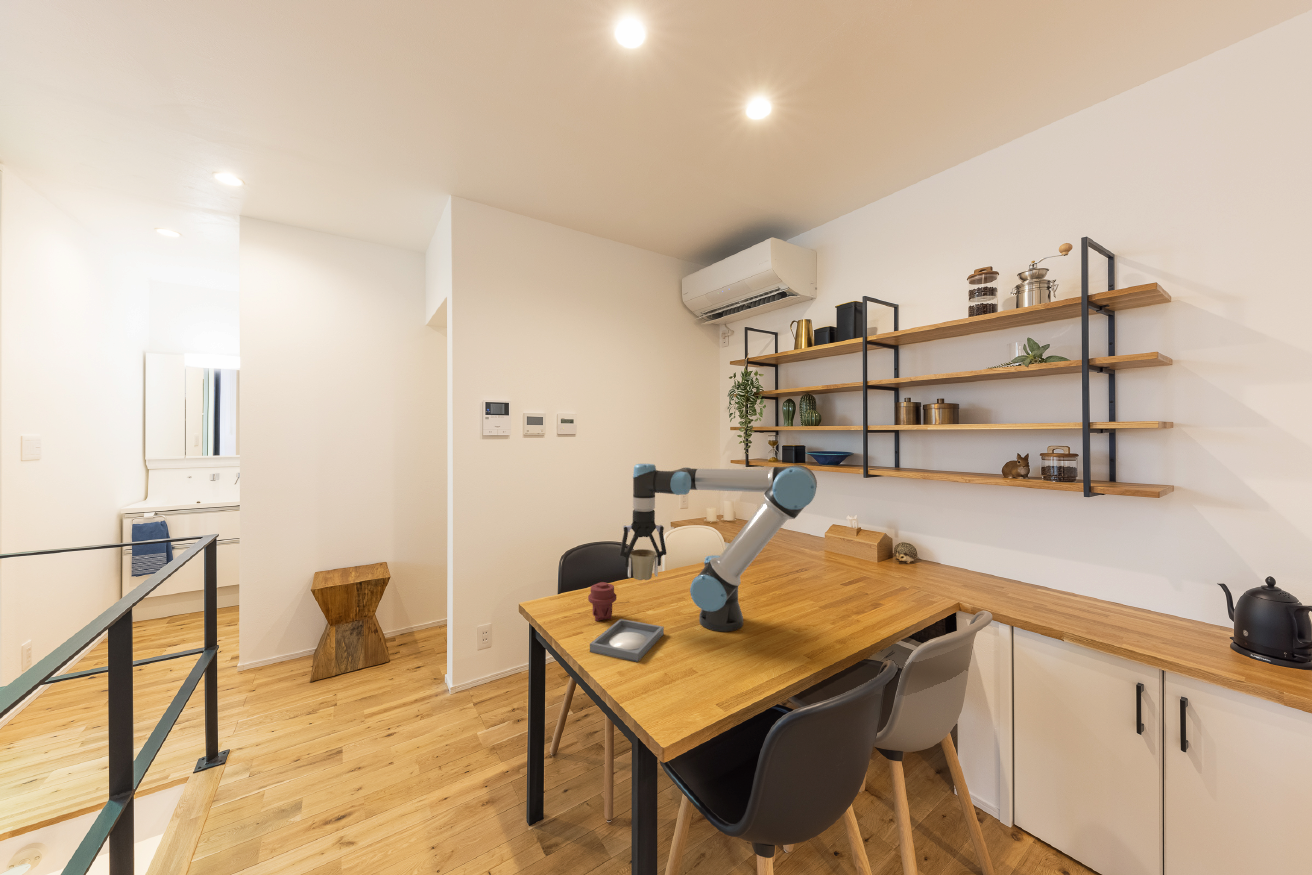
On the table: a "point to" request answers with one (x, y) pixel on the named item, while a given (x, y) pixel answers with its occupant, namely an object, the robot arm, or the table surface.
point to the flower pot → (642, 563)
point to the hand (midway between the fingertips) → (642, 575)
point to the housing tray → (627, 640)
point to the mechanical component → (602, 600)
